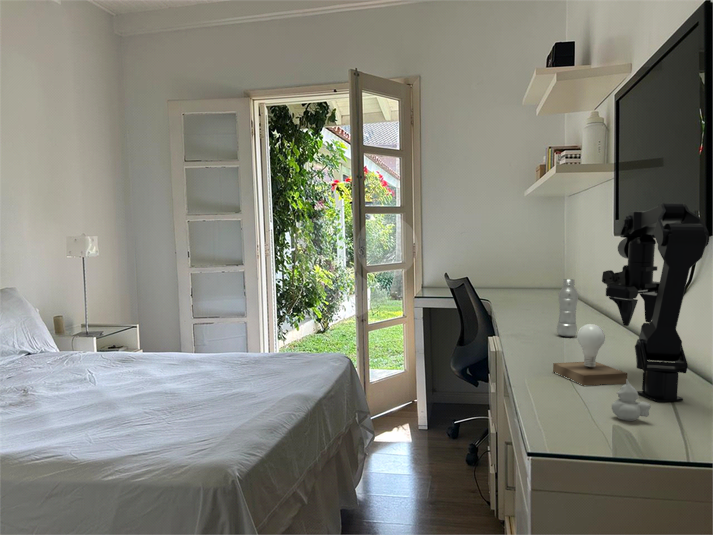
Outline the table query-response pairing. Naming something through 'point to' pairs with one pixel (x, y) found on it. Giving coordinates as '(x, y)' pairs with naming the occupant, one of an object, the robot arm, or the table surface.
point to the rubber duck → (629, 404)
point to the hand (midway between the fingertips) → (637, 323)
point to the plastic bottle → (567, 309)
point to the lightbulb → (590, 342)
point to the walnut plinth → (590, 373)
